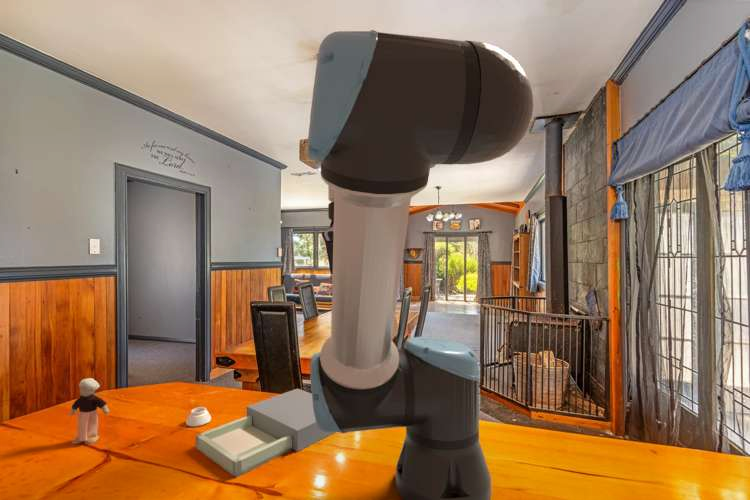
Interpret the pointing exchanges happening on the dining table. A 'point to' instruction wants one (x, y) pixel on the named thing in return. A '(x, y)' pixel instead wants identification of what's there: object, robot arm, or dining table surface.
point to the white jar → (198, 417)
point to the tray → (249, 460)
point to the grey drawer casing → (288, 418)
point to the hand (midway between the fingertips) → (345, 306)
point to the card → (238, 442)
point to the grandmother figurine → (88, 412)
